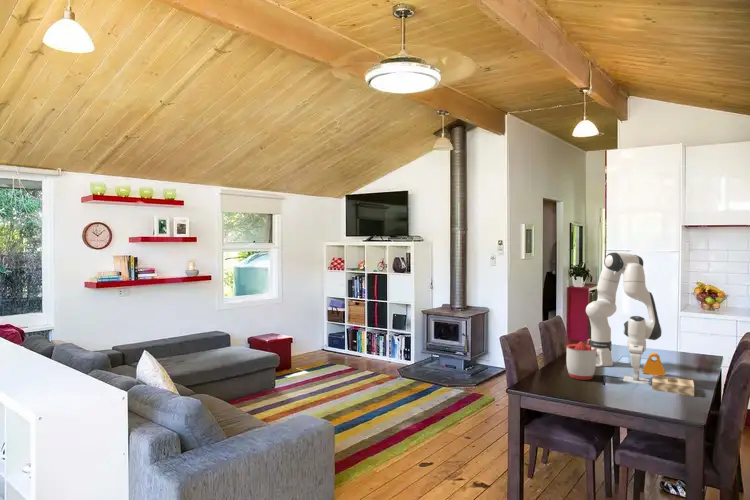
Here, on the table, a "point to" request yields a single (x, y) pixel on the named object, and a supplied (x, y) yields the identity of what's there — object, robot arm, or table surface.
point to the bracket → (654, 366)
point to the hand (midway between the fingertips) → (636, 372)
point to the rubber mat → (641, 380)
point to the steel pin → (636, 377)
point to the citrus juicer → (581, 361)
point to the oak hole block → (673, 385)
